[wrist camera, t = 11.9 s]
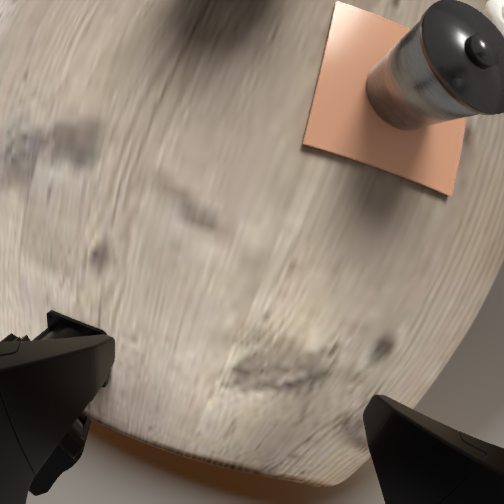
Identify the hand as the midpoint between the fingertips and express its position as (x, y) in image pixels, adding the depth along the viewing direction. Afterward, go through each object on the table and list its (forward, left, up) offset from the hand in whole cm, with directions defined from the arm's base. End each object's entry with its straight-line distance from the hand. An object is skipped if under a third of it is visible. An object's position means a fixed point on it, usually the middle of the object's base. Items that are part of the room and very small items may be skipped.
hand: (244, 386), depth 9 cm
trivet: (+7, +15, -13) cm, 21 cm away
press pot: (+7, +15, -12) cm, 21 cm away
